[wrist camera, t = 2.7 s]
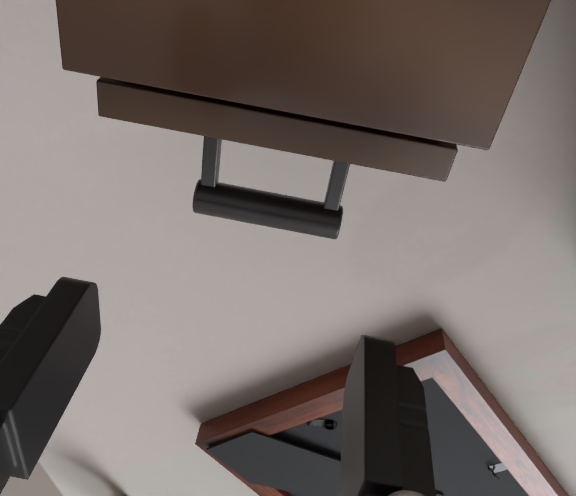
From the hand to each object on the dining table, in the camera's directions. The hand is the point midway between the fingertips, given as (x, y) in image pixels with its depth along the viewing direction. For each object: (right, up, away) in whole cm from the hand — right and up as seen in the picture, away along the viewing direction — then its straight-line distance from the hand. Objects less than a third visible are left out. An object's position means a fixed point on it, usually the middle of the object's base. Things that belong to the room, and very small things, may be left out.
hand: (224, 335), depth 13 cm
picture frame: (+10, -16, +30) cm, 35 cm away
